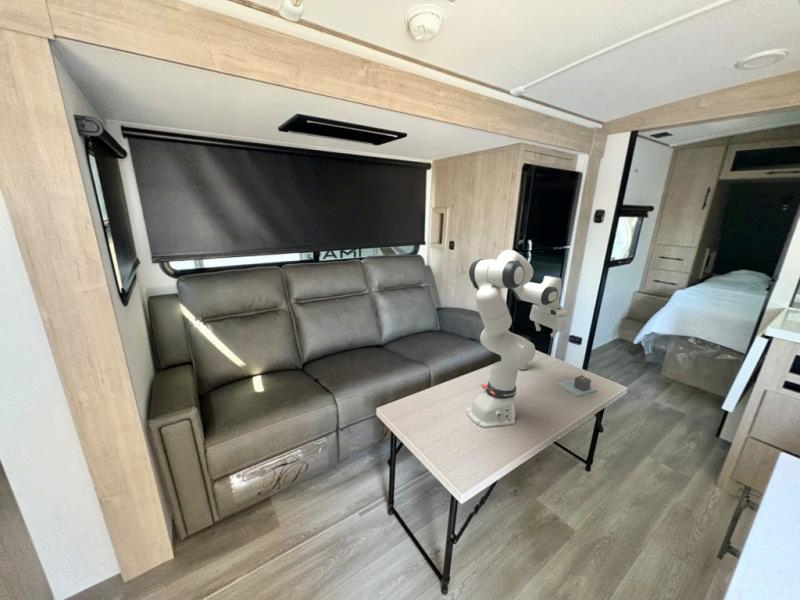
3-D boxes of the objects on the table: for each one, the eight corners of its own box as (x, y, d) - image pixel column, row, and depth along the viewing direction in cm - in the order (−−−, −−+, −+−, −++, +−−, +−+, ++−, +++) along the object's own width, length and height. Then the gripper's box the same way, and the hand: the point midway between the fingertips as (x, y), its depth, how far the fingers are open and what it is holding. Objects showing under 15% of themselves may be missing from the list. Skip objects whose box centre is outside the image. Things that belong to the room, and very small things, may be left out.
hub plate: (576, 396, 156) (578, 387, 155) (557, 385, 167) (558, 376, 165) (596, 391, 161) (598, 382, 160) (576, 380, 172) (577, 372, 170)
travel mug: (525, 365, 188) (529, 334, 183) (528, 371, 181) (532, 339, 176) (514, 365, 188) (518, 334, 183) (517, 370, 182) (521, 338, 177)
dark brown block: (582, 391, 159) (583, 381, 157) (573, 386, 163) (575, 376, 162) (589, 389, 161) (591, 379, 159) (580, 384, 165) (582, 374, 164)
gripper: (528, 302, 164) (525, 327, 168) (560, 314, 146) (556, 341, 149) (537, 301, 166) (534, 326, 170) (570, 312, 148) (566, 339, 151)
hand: (545, 333), depth 159 cm, fingers open, 8 cm apart
